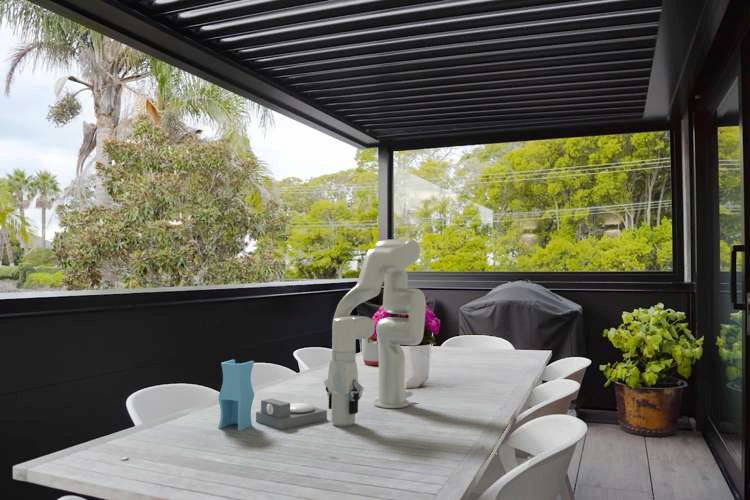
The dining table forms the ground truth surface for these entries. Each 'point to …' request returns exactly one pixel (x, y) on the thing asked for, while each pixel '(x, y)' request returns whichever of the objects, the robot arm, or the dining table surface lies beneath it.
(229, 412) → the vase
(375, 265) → the robot arm
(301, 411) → the scale
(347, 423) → the can
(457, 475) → the dining table surface
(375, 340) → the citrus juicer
